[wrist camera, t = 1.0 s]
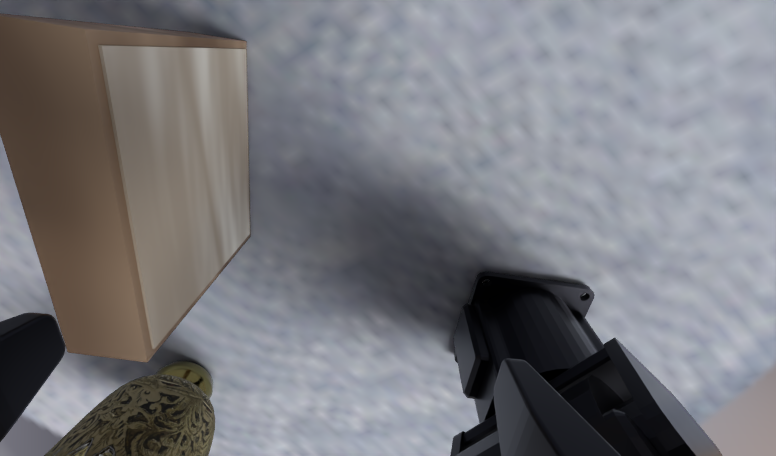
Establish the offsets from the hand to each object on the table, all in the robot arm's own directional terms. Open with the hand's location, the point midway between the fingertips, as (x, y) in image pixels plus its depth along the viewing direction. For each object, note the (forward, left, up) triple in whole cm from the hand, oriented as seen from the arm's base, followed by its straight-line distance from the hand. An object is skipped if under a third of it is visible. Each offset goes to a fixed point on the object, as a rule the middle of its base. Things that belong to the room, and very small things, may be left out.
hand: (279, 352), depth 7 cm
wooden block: (+6, -1, -12) cm, 14 cm away
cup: (+9, +15, -12) cm, 22 cm away
